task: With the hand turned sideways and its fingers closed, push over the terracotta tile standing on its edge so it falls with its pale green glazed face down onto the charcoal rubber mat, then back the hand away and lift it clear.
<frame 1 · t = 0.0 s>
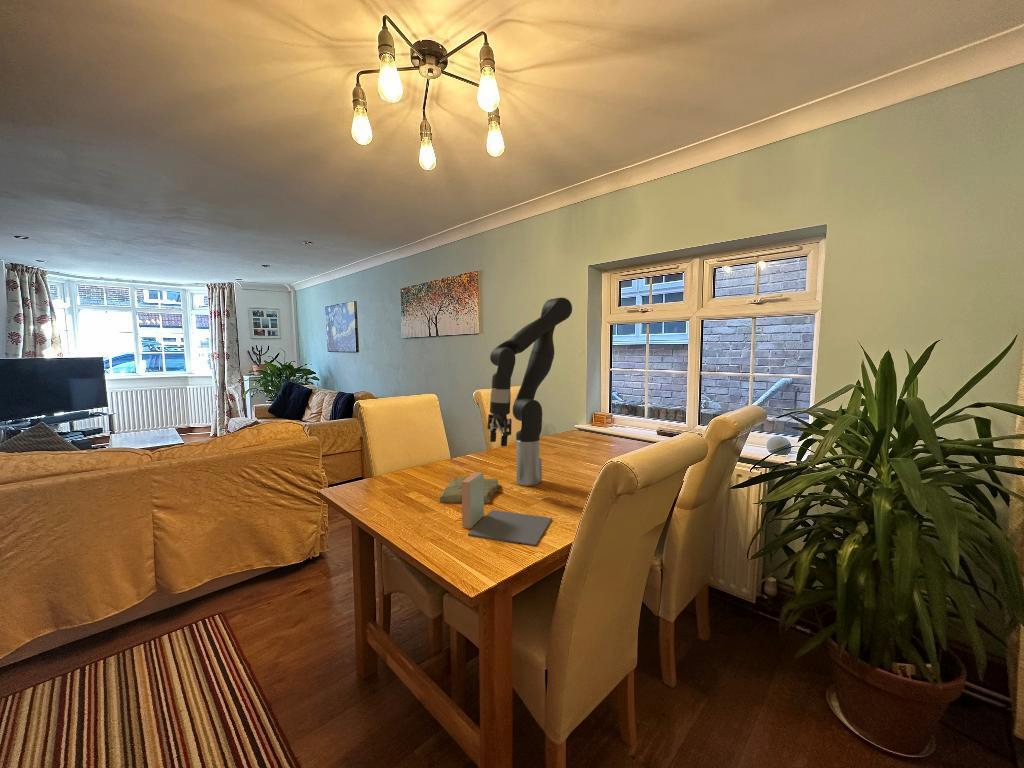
hand: (498, 443, 151), 17 cm above the table, tool pointing down, fingers open, 8 cm apart
decorative tile: (471, 494, 148), on the table
glazed tile: (473, 521, 123), on the table
charcoal mat: (511, 527, 119), on the table
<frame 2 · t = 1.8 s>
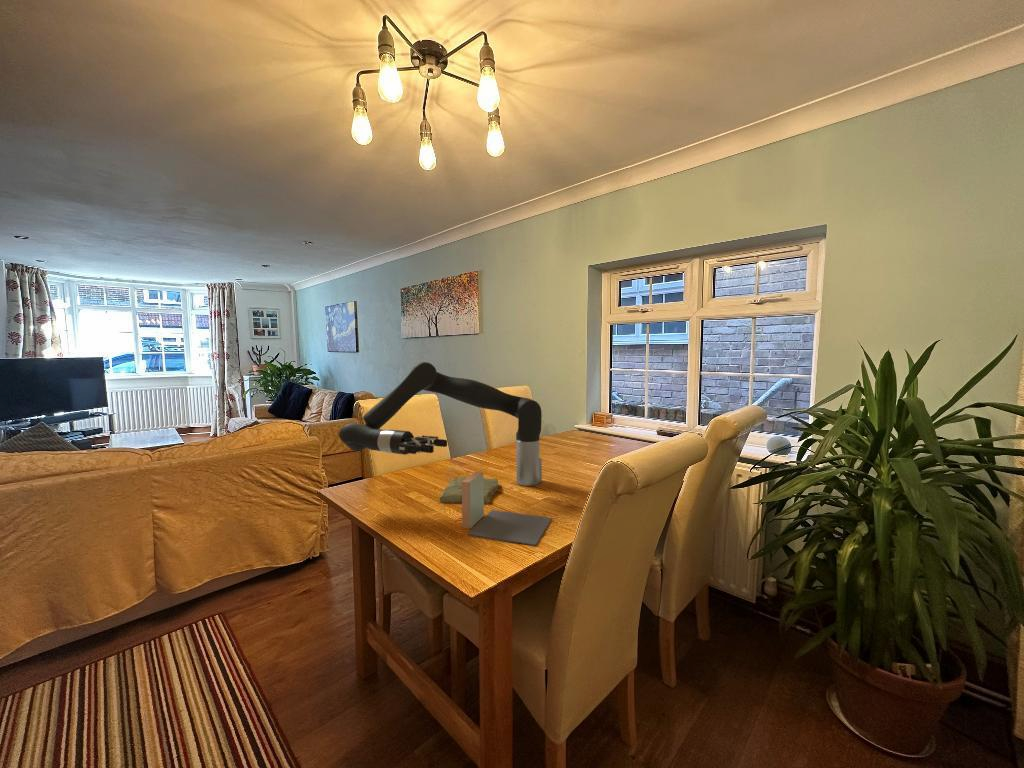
hand: (440, 446, 125), 23 cm above the table, tool horizontal, fingers open, 8 cm apart
nothing on the table moved.
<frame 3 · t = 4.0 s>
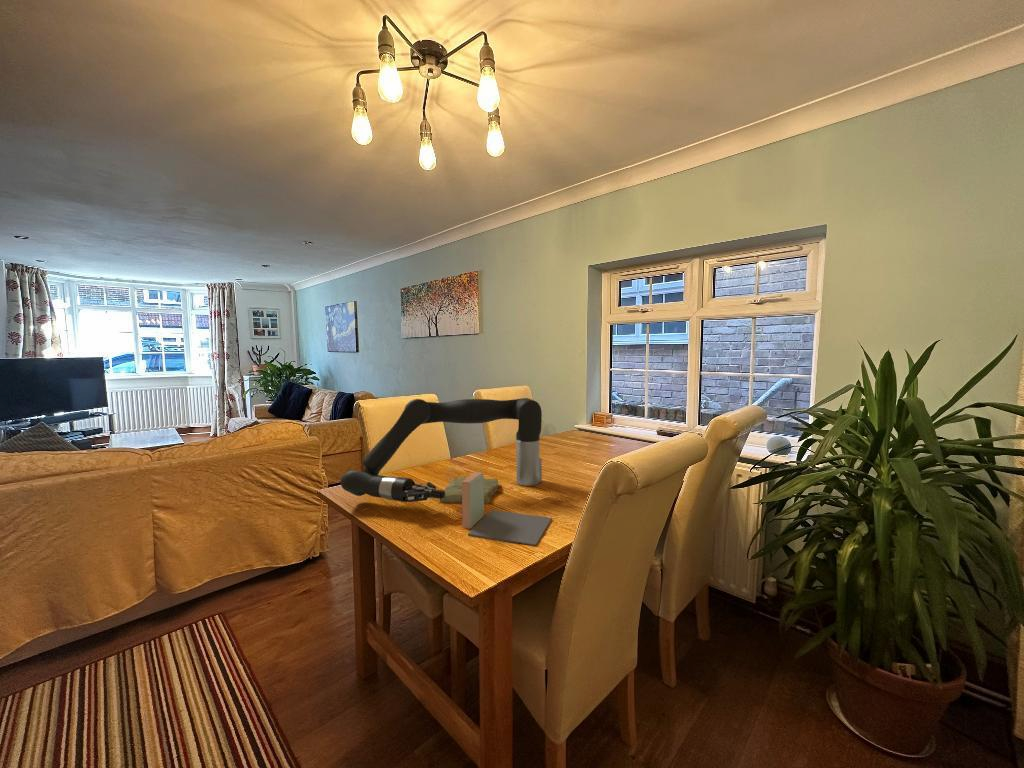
hand: (443, 494, 126), 7 cm above the table, tool horizontal, fingers closed
nothing on the table moved.
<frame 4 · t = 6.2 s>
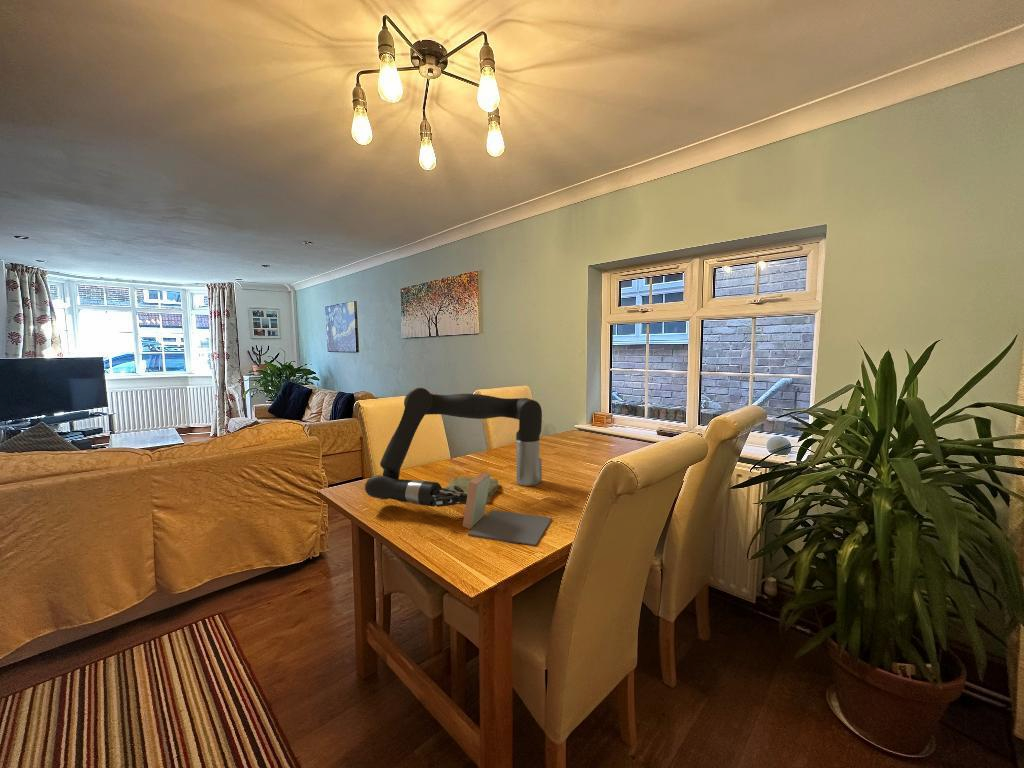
hand: (472, 499, 123), 7 cm above the table, tool horizontal, fingers closed
glazed tile: (473, 520, 123), on the table, tilted 10°
everything else where it was.
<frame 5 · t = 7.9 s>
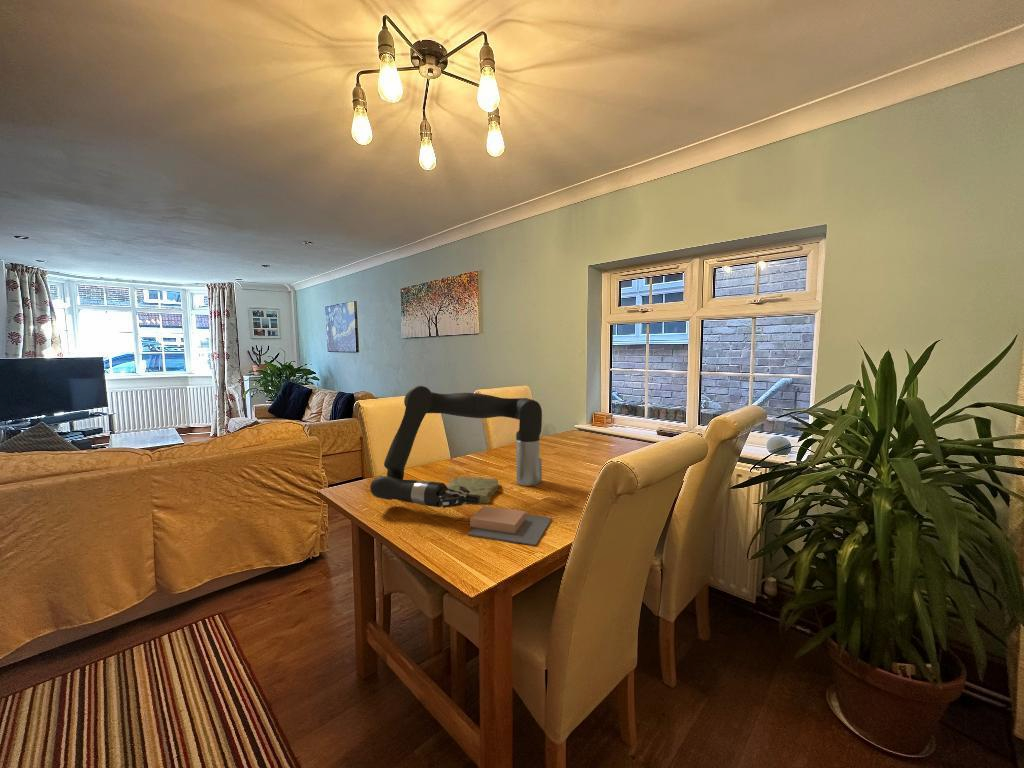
hand: (479, 499, 122), 7 cm above the table, tool horizontal, fingers closed
glazed tile: (477, 516, 123), point 2 cm above the table, tilted 90°, touching charcoal mat
everything else where it was.
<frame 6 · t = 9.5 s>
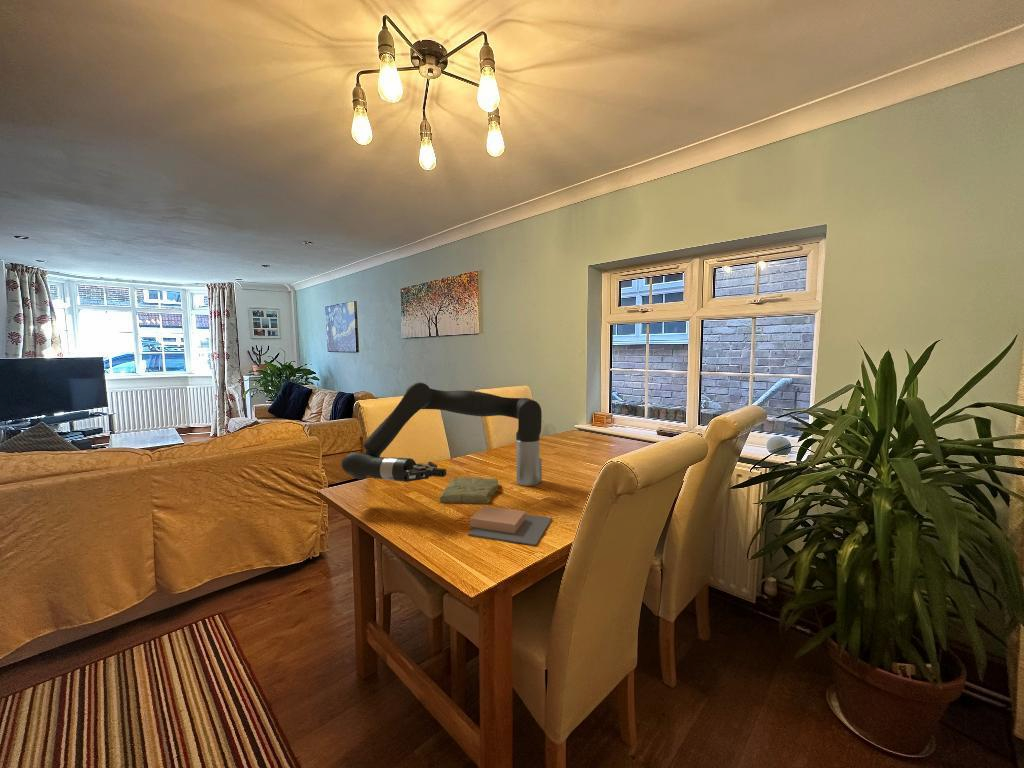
hand: (445, 473, 126), 14 cm above the table, tool horizontal, fingers closed
nothing on the table moved.
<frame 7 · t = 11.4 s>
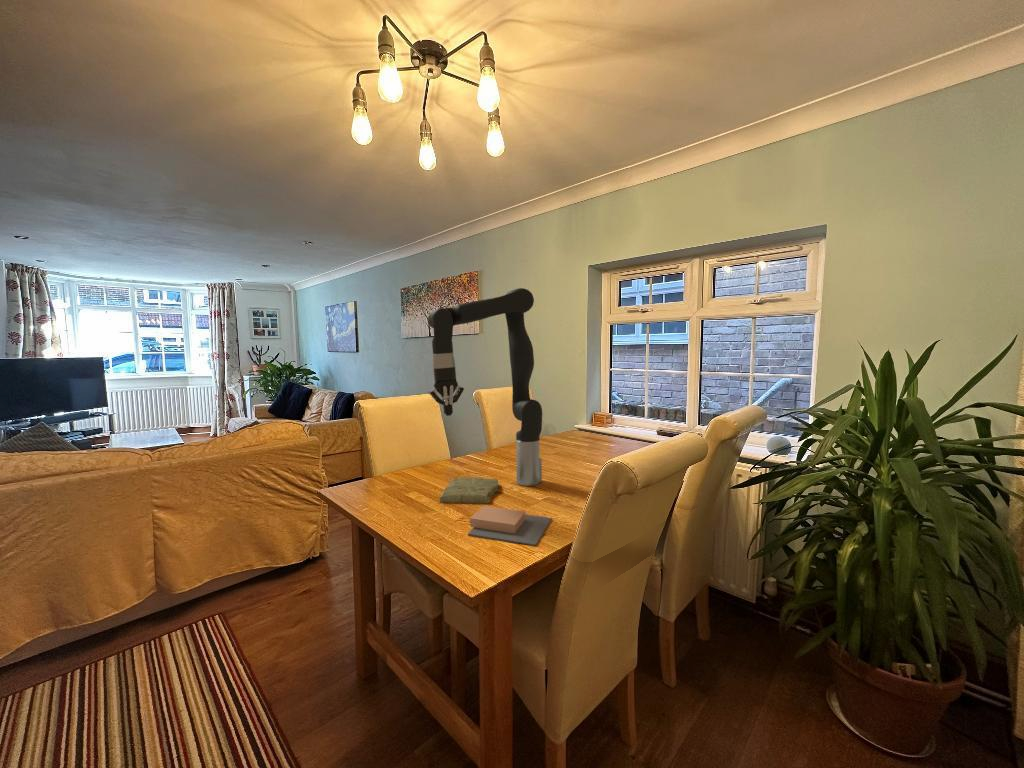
hand: (448, 415, 142), 29 cm above the table, tool pointing down, fingers closed
nothing on the table moved.
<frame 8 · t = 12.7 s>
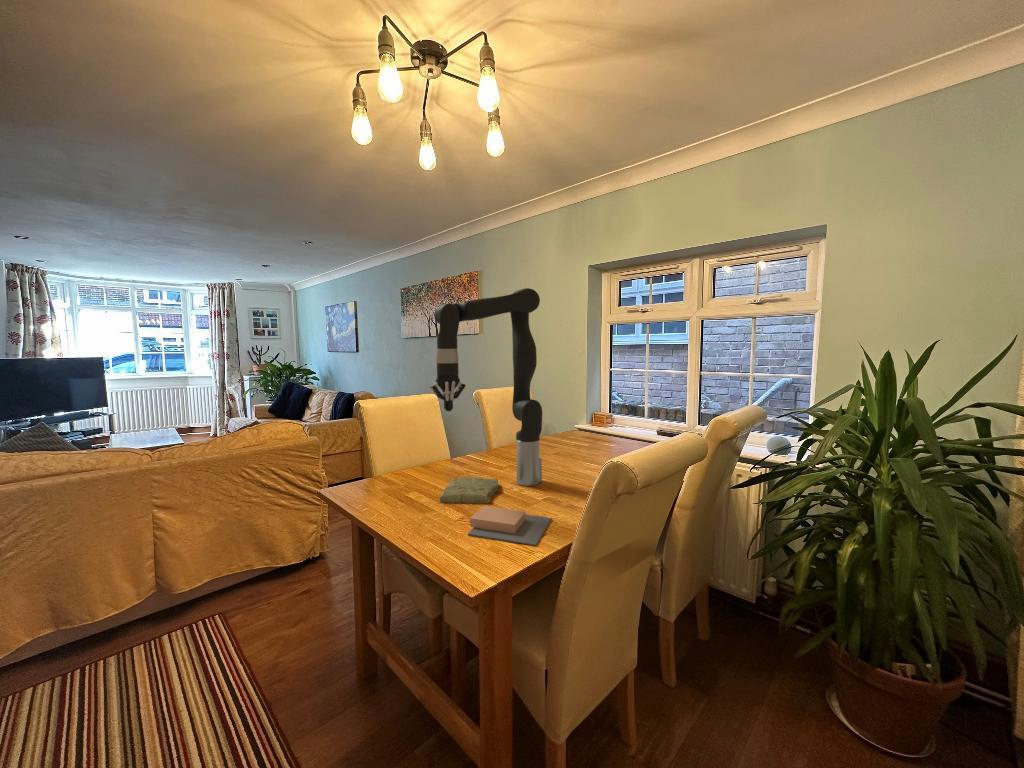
hand: (448, 410, 142), 31 cm above the table, tool pointing down, fingers closed
nothing on the table moved.
at the end: glazed tile tilted 90°; glazed tile touching charcoal mat; the gripper is holding nothing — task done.
